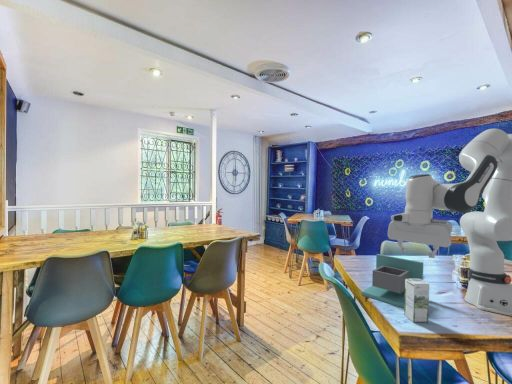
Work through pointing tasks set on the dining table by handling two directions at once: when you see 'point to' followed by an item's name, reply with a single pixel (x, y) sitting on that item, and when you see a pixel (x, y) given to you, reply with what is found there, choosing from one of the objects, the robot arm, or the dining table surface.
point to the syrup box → (416, 300)
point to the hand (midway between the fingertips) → (417, 255)
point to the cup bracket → (392, 279)
